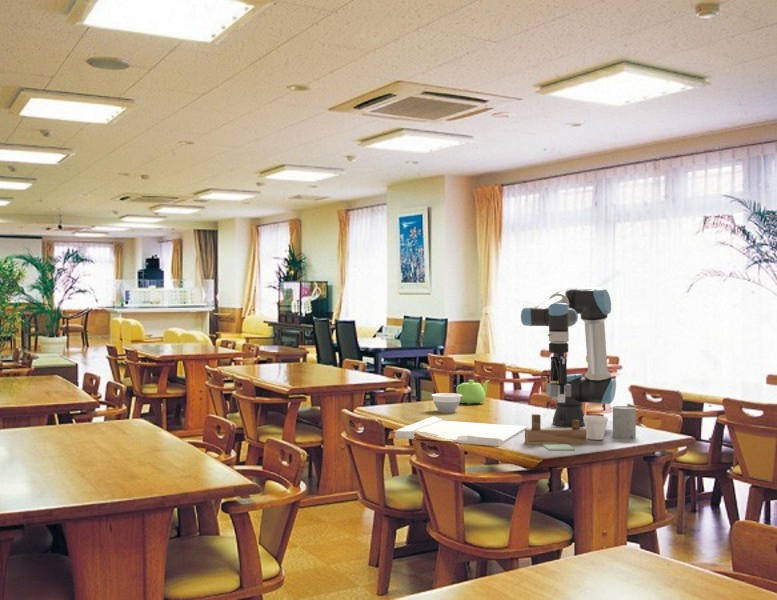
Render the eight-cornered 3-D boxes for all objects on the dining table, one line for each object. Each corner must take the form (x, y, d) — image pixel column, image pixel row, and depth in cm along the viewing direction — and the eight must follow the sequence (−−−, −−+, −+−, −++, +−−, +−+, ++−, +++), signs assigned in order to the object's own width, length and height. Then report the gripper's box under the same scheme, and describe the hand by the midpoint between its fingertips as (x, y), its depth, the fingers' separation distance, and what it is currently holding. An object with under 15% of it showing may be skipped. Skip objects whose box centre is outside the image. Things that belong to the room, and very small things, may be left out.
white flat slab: (527, 430, 357) (527, 422, 357) (499, 447, 315) (499, 438, 315) (433, 423, 375) (433, 416, 375) (395, 439, 334) (395, 430, 334)
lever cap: (545, 394, 315) (545, 380, 315) (565, 394, 315) (565, 379, 315) (550, 396, 308) (550, 381, 308) (571, 396, 308) (571, 381, 308)
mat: (542, 445, 316) (542, 444, 316) (567, 445, 317) (567, 443, 317) (549, 450, 306) (549, 449, 306) (574, 450, 307) (574, 448, 307)
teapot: (483, 400, 455) (483, 377, 455) (497, 403, 442) (497, 380, 442) (449, 402, 446) (449, 379, 446) (462, 406, 433) (462, 381, 433)
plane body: (524, 442, 324) (524, 413, 324) (582, 441, 326) (582, 413, 326) (527, 444, 319) (527, 415, 319) (586, 443, 321) (586, 415, 321)
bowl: (468, 411, 411) (468, 395, 411) (446, 414, 401) (446, 397, 401) (447, 408, 423) (447, 392, 423) (425, 411, 413) (425, 394, 413)
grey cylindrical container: (637, 438, 332) (637, 409, 332) (613, 438, 334) (613, 408, 334) (634, 435, 342) (634, 406, 341) (611, 434, 343) (611, 405, 343)
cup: (607, 442, 325) (607, 419, 325) (582, 440, 328) (582, 418, 328) (608, 437, 334) (608, 415, 334) (584, 436, 337) (584, 414, 337)
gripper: (542, 341, 321) (542, 398, 321) (556, 343, 301) (556, 404, 301) (560, 341, 322) (560, 397, 322) (575, 343, 302) (575, 404, 302)
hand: (558, 401), depth 311 cm, fingers closed on lever cap, 7 cm apart
